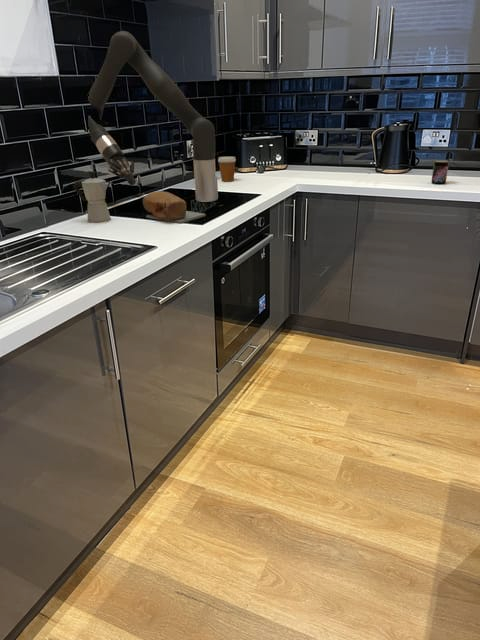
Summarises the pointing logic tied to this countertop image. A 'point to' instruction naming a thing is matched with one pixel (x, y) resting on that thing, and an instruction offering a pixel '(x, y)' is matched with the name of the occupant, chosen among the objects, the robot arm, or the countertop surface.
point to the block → (165, 205)
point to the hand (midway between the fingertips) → (133, 183)
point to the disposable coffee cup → (227, 168)
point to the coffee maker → (94, 198)
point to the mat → (187, 218)
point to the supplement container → (440, 172)
